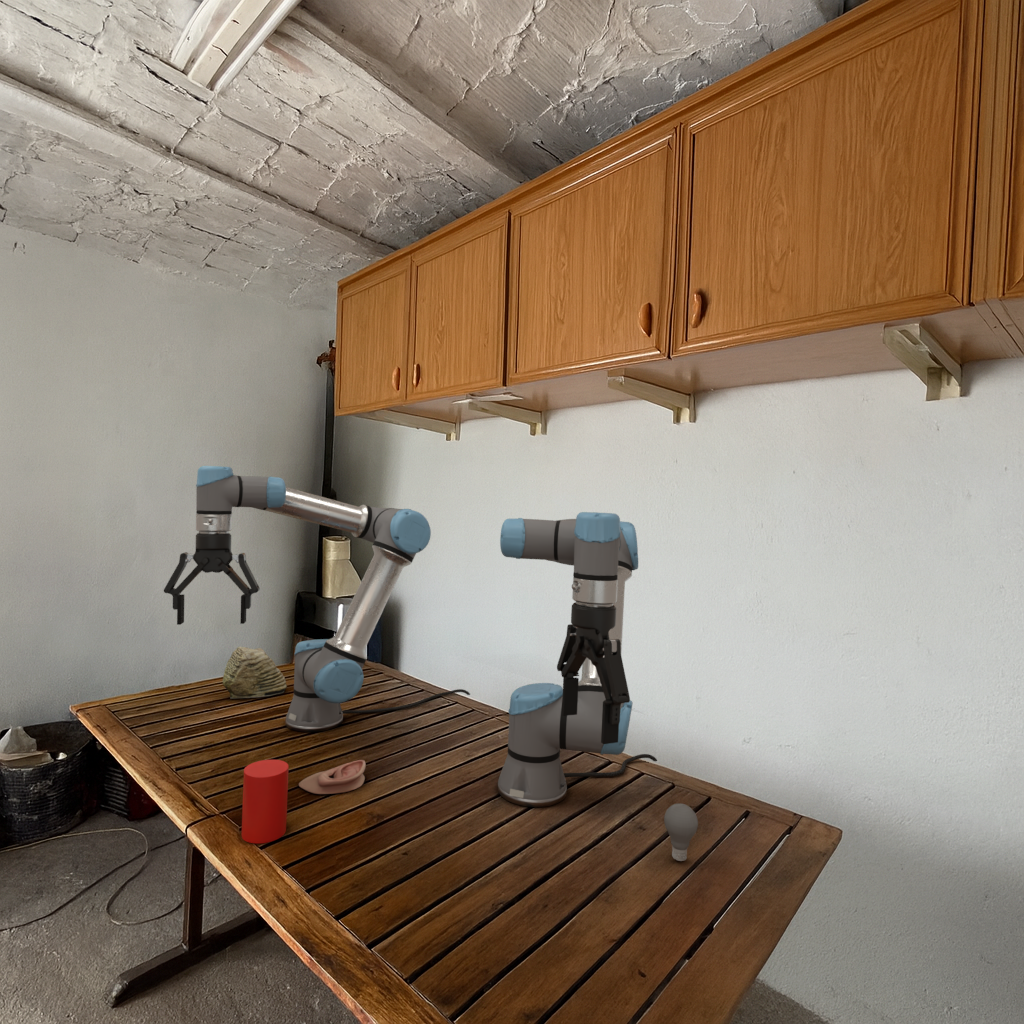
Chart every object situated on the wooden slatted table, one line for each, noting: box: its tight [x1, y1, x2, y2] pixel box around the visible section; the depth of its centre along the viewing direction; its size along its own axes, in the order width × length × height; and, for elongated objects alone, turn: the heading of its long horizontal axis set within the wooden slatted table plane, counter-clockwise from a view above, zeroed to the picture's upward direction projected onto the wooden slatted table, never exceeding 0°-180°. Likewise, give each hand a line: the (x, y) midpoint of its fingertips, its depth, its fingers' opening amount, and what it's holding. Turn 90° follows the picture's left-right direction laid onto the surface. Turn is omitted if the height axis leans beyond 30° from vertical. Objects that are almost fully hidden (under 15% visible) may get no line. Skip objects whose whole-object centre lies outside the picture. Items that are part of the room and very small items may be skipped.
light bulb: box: [663, 802, 699, 862], centre depth 116 cm, size 6×6×10 cm
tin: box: [241, 759, 290, 845], centre depth 119 cm, size 8×8×12 cm
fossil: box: [222, 646, 288, 699], centre depth 198 cm, size 9×18×15 cm, turn 132°
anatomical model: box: [298, 759, 367, 795], centre depth 140 cm, size 13×4×12 cm
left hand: (212, 623), depth 148 cm, fingers open, 13 cm apart
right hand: (588, 727), depth 108 cm, fingers open, 13 cm apart
